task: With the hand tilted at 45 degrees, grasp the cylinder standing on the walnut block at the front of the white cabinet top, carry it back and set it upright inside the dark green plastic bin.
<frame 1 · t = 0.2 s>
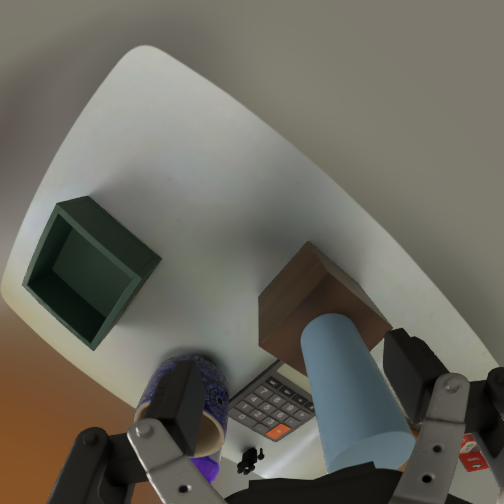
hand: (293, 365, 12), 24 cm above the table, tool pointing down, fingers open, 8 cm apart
planter: (194, 375, 41), on the table
cylinder: (328, 338, 27), point 11 cm above the table, touching stand
calculator: (282, 399, 42), on the table
stand: (310, 291, 37), on the table
bin: (99, 263, 37), on the table
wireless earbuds: (247, 449, 46), on the table
bottle: (203, 421, 44), on the table
ink box: (453, 414, 44), on the table
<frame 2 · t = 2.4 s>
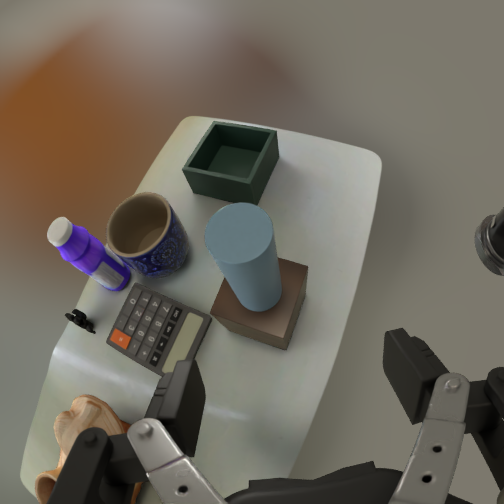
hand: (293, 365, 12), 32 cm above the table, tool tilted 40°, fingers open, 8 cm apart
planter: (165, 255, 52), on the table
cylinder: (259, 289, 36), point 11 cm above the table, touching stand
calculator: (157, 332, 46), on the table
stand: (267, 312, 46), on the table
bin: (236, 173, 57), on the table
ceramic vessel: (115, 464, 37), on the table
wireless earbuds: (90, 323, 49), on the table
bottle: (116, 276, 52), on the table
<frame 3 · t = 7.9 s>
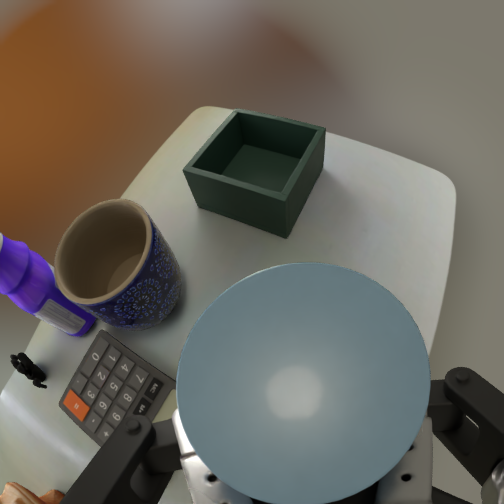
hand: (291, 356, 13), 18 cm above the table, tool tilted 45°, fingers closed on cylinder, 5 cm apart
planter: (147, 294, 35), on the table
cylinder: (295, 400, 18), point 11 cm above the table, touching gripper, stand
calculator: (125, 406, 28), on the table
bin: (262, 185, 40), on the table
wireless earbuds: (42, 371, 31), on the table
bottle: (80, 313, 35), on the table
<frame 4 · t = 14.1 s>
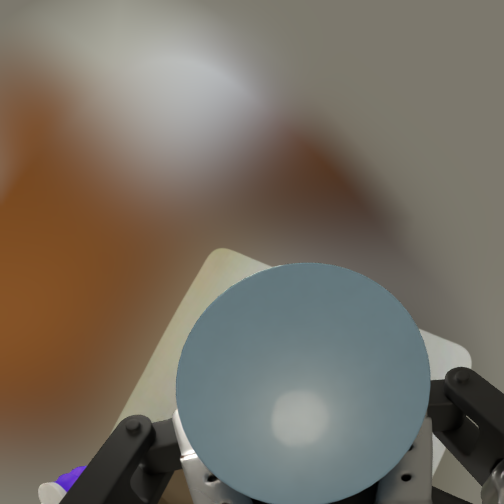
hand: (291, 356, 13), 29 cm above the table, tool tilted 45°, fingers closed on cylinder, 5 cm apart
planter: (188, 477, 33), on the table
cylinder: (295, 400, 18), point 22 cm above the table, touching gripper
bottle: (127, 481, 33), on the table
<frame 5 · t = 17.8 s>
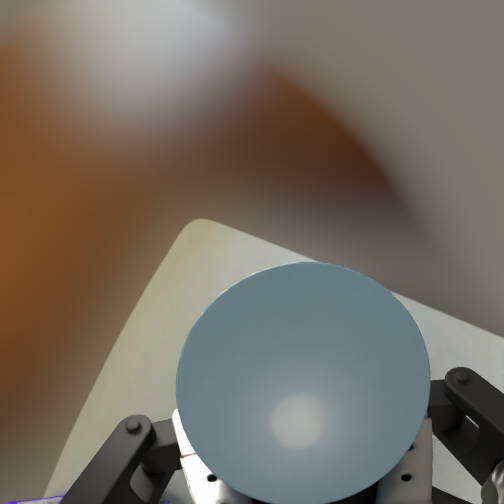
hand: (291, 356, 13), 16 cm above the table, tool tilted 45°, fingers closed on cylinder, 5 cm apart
cylinder: (295, 400, 18), point 9 cm above the table, touching gripper
when the fingers open (8 cm above the table, at t = 20.6 s): cylinder stays where it is, resting on bin.
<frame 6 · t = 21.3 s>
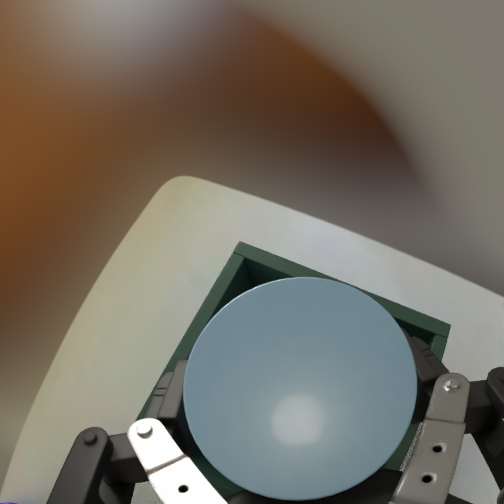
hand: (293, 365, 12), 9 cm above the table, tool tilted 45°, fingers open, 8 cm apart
cylinder: (293, 401, 18), point 1 cm above the table, touching bin
bin: (293, 401, 19), on the table
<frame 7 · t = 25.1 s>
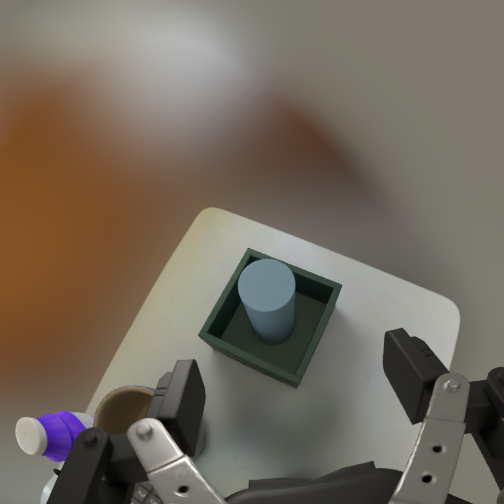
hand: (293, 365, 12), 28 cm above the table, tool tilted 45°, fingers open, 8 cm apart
planter: (173, 431, 35), on the table
cylinder: (273, 325, 40), point 1 cm above the table, touching bin
bin: (274, 327, 41), on the table
bottle: (111, 437, 35), on the table
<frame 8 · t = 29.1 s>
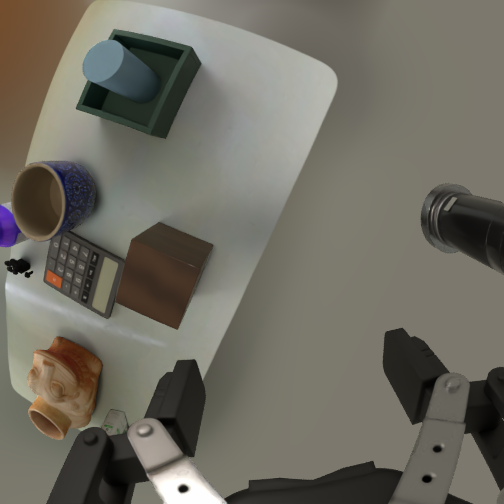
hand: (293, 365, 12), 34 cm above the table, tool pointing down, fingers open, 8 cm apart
planter: (77, 192, 44), on the table
cylinder: (144, 86, 39), point 1 cm above the table, touching bin
calculator: (82, 271, 48), on the table
stand: (176, 259, 47), on the table
bin: (146, 87, 40), on the table
ceramic vessel: (75, 373, 54), on the table
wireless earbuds: (27, 260, 47), on the table
bottle: (37, 214, 45), on the table
ink box: (120, 421, 58), on the table
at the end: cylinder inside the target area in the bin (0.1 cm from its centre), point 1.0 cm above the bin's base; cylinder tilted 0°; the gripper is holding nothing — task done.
